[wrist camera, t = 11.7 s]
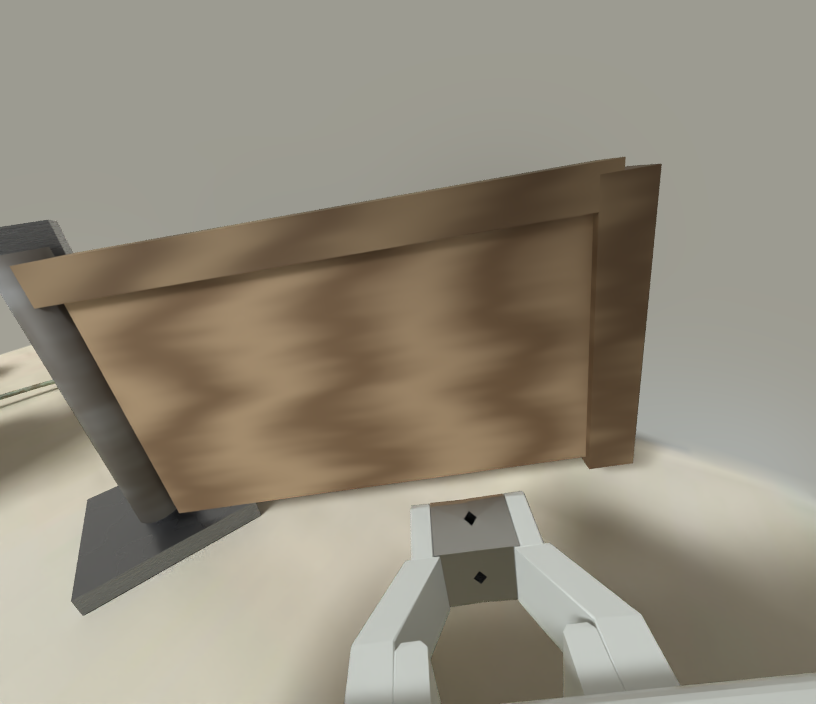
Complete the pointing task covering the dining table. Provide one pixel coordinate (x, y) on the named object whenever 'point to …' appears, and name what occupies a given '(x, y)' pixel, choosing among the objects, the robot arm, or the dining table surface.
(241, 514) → the gate post
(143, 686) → the dining table surface
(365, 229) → the gate
